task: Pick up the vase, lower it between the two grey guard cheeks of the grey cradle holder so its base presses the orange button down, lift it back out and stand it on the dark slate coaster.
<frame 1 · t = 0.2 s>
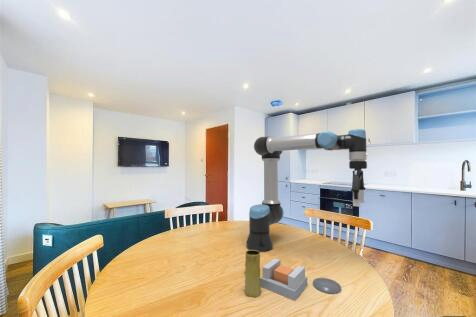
hand: (358, 204, 101), 28 cm above the table, fingers open, 13 cm apart
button: (283, 274, 80), point 4 cm above the table, slide at 0.0 cm
onion: (251, 273, 89), on the table
coaster: (326, 286, 80), on the table
grey cradle holder: (283, 285, 80), on the table
vase: (252, 292, 76), on the table
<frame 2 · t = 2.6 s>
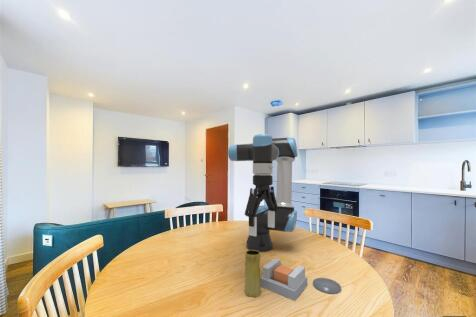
hand: (262, 231, 78), 22 cm above the table, fingers open, 13 cm apart
nothing on the table moved.
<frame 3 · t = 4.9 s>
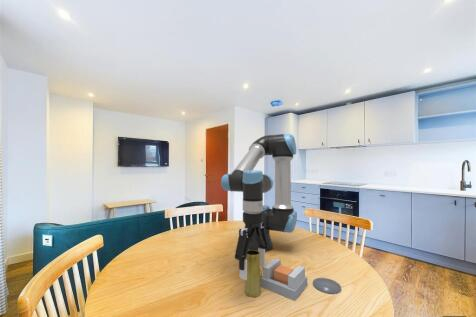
hand: (252, 271, 76), 7 cm above the table, fingers open, 11 cm apart
nothing on the table moved.
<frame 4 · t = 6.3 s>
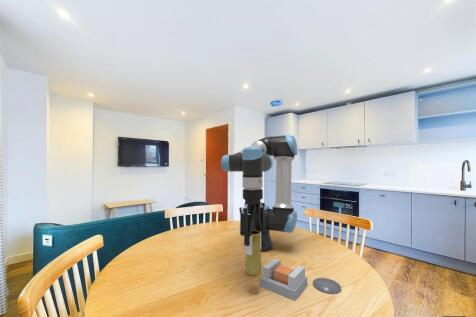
hand: (253, 251, 77), 15 cm above the table, fingers closed on vase, 5 cm apart
vase: (253, 271, 76), point 7 cm above the table, touching gripper
everything else where it was.
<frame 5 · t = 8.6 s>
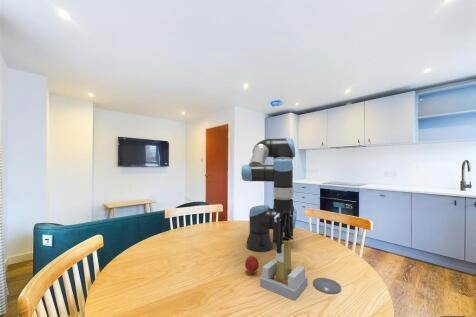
hand: (283, 258, 80), 10 cm above the table, fingers closed on vase, 5 cm apart
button: (283, 280, 80), point 2 cm above the table, slide at 2.4 cm, touching vase
vase: (283, 276, 80), point 3 cm above the table, touching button, gripper
everything else where it was.
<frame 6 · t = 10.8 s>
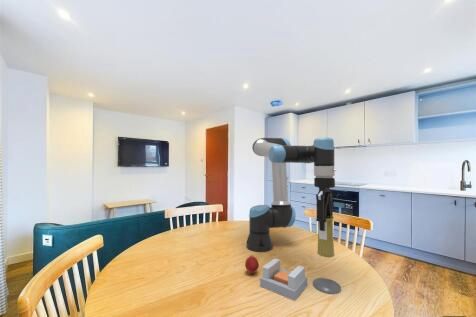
hand: (325, 236, 81), 19 cm above the table, fingers closed on vase, 5 cm apart
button: (283, 280, 80), point 2 cm above the table, slide at 2.1 cm
vase: (325, 254, 80), point 12 cm above the table, touching gripper
everything else where it was.
when the fingers open (8 cm above the table, at t = 13.1 s): vase stays where it is, resting on coaster.
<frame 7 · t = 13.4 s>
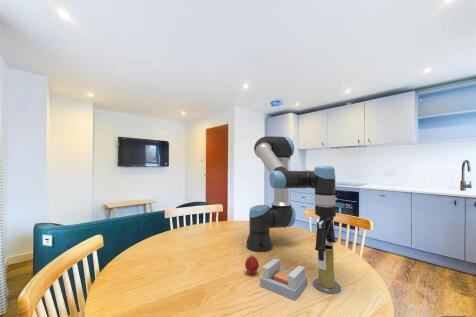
hand: (326, 263, 80), 8 cm above the table, fingers open, 10 cm apart
vase: (326, 285, 80), resting on coaster
everything else where it was.
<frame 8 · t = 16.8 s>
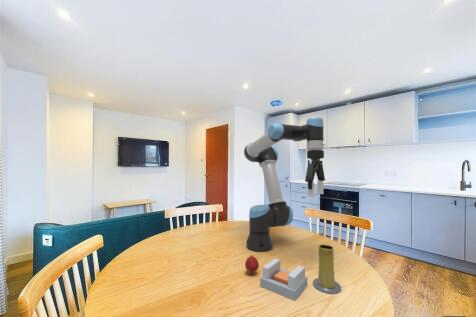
hand: (316, 195, 97), 33 cm above the table, fingers open, 13 cm apart
nothing on the table moved.
at the end: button slide at 2.1 cm; vase 0.0 cm from the coaster (horizontally); vase tilted 0° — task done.
